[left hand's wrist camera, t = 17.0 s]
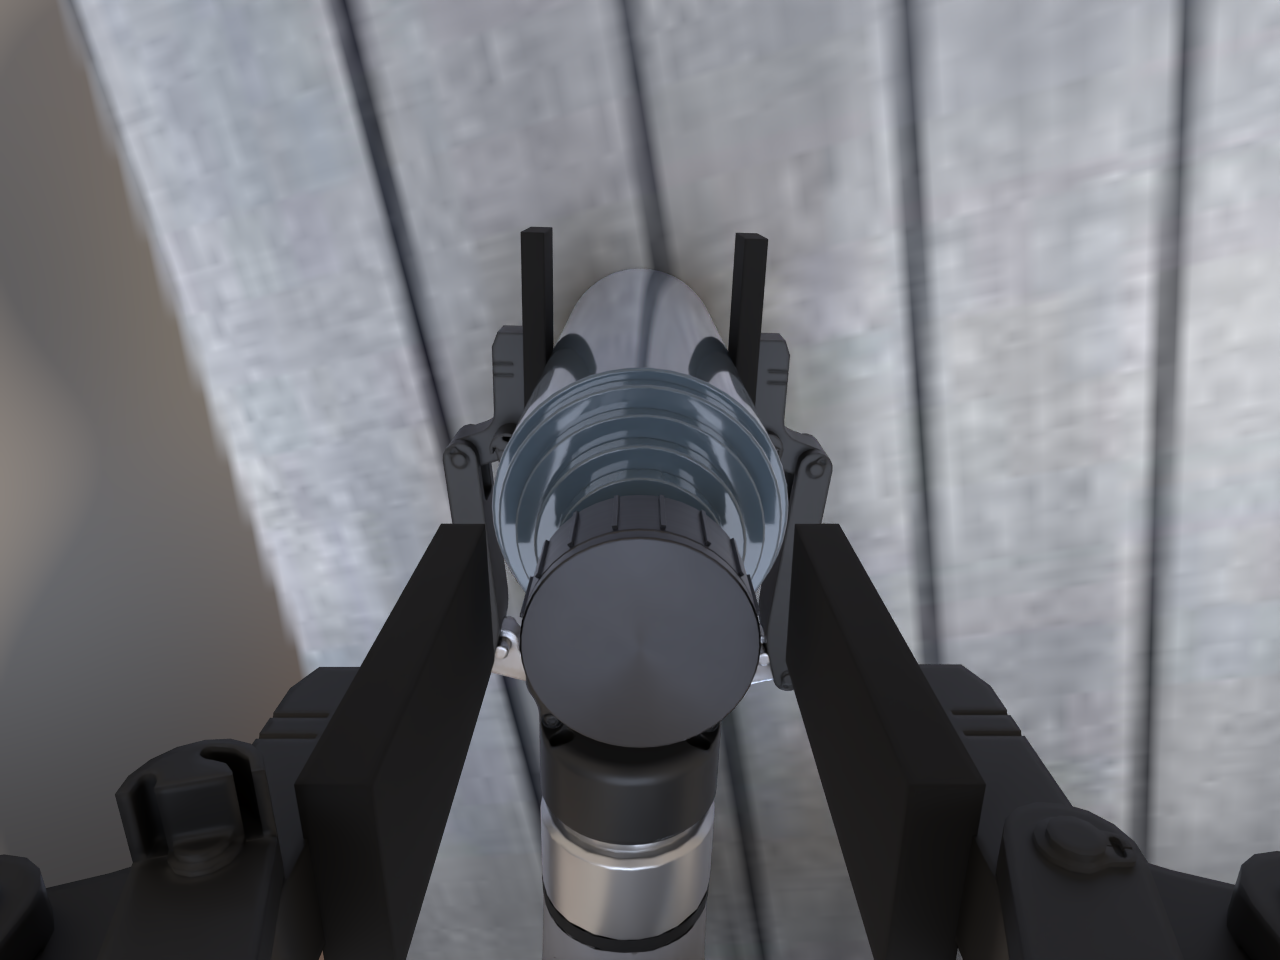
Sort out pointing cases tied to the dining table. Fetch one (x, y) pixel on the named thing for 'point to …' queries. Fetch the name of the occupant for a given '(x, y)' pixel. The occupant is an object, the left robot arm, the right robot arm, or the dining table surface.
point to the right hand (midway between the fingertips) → (644, 233)
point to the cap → (640, 623)
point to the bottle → (640, 425)
